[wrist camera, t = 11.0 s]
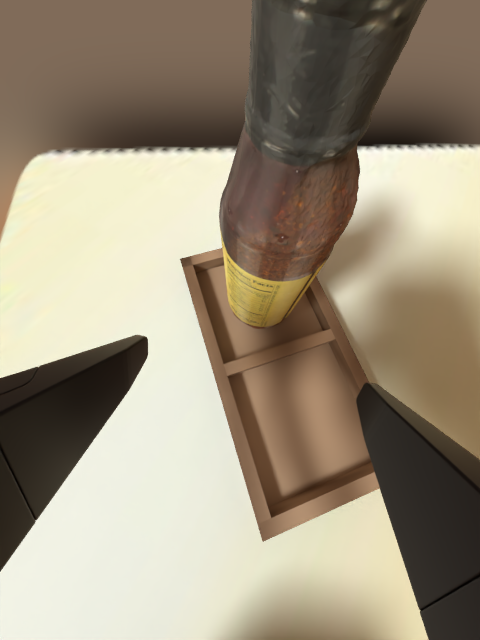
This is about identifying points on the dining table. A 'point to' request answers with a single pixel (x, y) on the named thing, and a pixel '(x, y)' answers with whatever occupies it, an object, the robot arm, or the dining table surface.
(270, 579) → the dining table surface
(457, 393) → the dining table surface
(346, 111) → the sauce bottle
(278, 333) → the walnut holder
